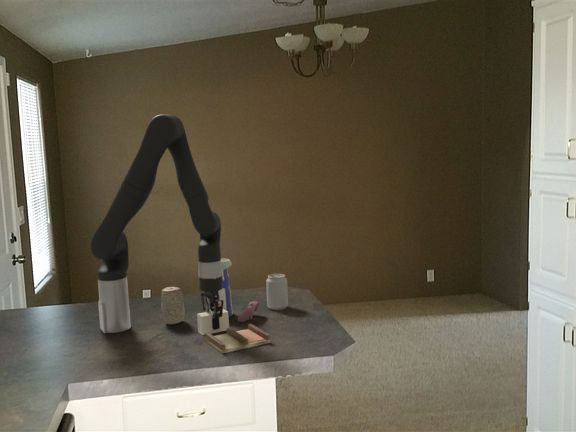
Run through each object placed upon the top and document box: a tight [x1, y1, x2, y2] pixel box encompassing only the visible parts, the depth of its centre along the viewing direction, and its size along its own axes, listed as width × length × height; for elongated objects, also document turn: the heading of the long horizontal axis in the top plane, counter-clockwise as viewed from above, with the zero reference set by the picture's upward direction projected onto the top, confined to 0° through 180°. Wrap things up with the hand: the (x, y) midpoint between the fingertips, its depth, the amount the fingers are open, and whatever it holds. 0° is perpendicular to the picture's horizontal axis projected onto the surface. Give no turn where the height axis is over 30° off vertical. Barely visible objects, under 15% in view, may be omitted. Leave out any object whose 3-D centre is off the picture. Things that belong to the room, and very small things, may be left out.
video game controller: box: [237, 300, 261, 323], centre depth 200 cm, size 10×5×7 cm, turn 169°
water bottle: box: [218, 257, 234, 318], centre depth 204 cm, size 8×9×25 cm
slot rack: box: [204, 323, 271, 354], centre depth 177 cm, size 16×13×2 cm
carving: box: [160, 286, 186, 325], centre depth 198 cm, size 6×8×12 cm
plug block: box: [196, 309, 230, 336], centre depth 188 cm, size 9×4×6 cm, turn 119°
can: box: [265, 273, 289, 311], centre depth 211 cm, size 8×8×12 cm
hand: (213, 326), depth 188 cm, fingers closed on plug block, 4 cm apart
